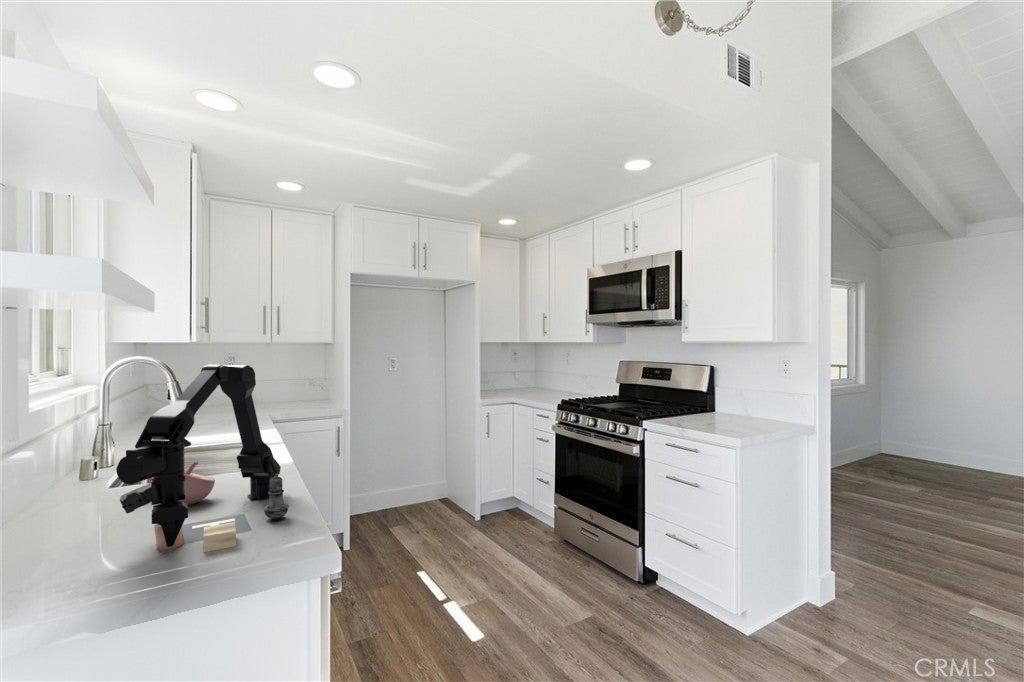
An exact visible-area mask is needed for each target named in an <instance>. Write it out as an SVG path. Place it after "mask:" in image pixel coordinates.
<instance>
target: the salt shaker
mask: <svg viewBox="0 0 1024 682" xmlns="http://www.w3.org/2000/svg"><path fill="white" fill-rule="evenodd" d="M284 492H285V490H284V489H283V478H282V477H280V476H279V475H278V476H277V474H275V476H274V477H273V478H271V479H270V491H269V492H268V494H270V498H269V503H268V505H266V506H264V507H263V511H264V514H265V516H266V517H267V518H268V519H267V520H266V523H269V524H277V523H281V522H284V521H286V520H287V517H286V514H287V513H288V511H289V507H290V504H289V503H285V501H284V495H283V494H284Z"/></svg>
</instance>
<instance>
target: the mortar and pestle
mask: <svg viewBox="0 0 1024 682" xmlns="http://www.w3.org/2000/svg"><path fill="white" fill-rule="evenodd" d="M198 464H199V461H197V460H196V461H194V462H192V463H191V464H190V466H189V467H188V469H187V470H185V499H184V500H179V501H185V503H186V504H187V506H189V505H194V504H197V503H199V502H201V501H203V500H204V499H206V498H207V497H208V496H209V495H210V494H211V493H212V491H213V489H214V487H215V484H216V479H215V478H214V477H212V476H207V475H202V474H198V473H194V472H192V471H194V469H195V467H196V466H197V465H198Z"/></svg>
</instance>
